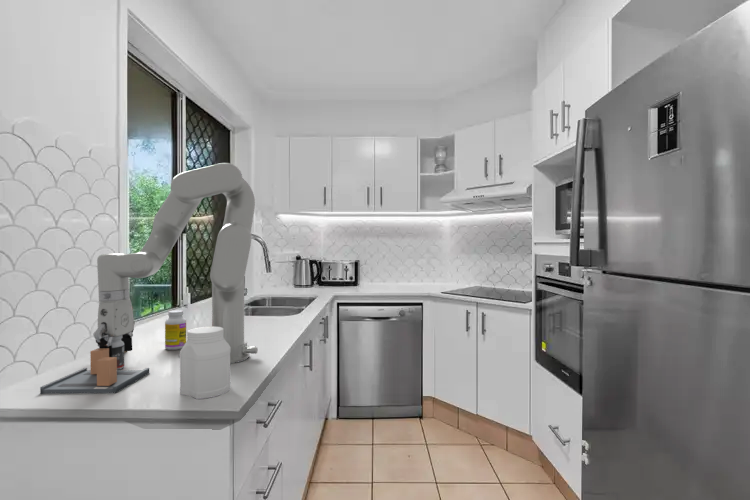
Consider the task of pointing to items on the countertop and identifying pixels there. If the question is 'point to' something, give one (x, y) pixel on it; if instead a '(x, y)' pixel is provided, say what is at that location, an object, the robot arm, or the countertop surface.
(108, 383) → the tab
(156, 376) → the countertop surface
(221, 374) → the jar
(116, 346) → the pill bottle
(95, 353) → the orange rectangular block
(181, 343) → the supplement bottle
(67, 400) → the countertop surface
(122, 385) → the grey tray
